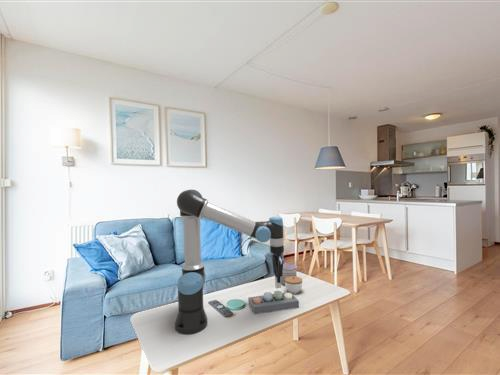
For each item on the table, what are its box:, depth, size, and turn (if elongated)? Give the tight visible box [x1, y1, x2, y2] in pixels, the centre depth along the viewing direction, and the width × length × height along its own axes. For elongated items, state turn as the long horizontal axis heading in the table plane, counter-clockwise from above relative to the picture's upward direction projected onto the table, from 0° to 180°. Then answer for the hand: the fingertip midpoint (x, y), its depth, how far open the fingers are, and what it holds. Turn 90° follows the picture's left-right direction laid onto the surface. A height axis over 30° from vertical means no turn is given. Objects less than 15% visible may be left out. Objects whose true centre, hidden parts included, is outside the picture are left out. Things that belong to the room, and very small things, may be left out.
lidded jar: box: [284, 275, 303, 295], centre depth 157 cm, size 11×11×9 cm
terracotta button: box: [253, 296, 261, 304], centre depth 137 cm, size 4×4×4 cm
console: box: [248, 291, 300, 315], centre depth 140 cm, size 25×12×4 cm, turn 104°
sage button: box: [273, 290, 283, 301], centre depth 140 cm, size 4×4×4 cm
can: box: [281, 262, 298, 287], centre depth 170 cm, size 11×11×12 cm
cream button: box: [284, 293, 292, 299], centre depth 142 cm, size 4×4×4 cm
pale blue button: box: [263, 291, 273, 302], centre depth 139 cm, size 4×4×4 cm
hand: (278, 287), depth 140 cm, fingers closed
